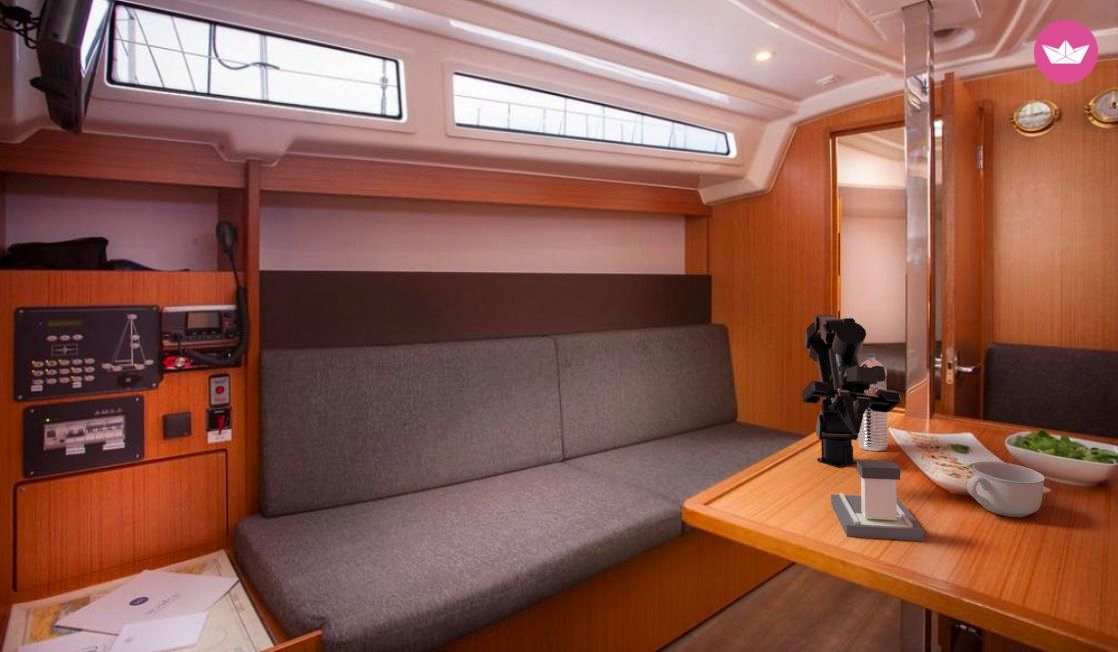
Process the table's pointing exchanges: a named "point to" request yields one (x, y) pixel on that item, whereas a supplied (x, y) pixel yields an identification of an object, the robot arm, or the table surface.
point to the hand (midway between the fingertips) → (856, 433)
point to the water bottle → (873, 417)
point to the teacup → (1006, 488)
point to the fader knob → (878, 489)
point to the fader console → (875, 521)
